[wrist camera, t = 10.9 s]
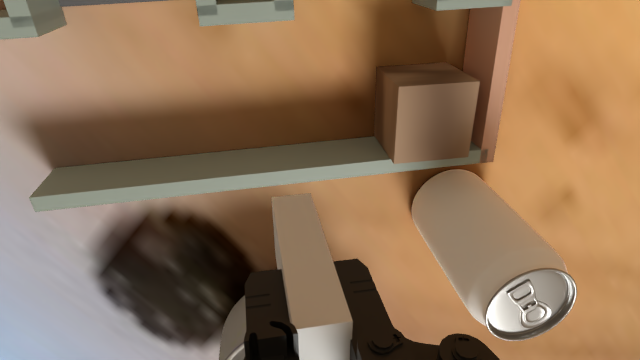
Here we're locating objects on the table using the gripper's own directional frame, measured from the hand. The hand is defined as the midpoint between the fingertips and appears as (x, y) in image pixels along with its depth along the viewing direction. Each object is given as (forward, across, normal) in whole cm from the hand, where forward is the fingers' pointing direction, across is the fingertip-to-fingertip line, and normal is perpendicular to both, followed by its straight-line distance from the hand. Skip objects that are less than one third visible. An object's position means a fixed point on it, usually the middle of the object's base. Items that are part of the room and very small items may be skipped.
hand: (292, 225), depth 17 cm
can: (+14, -14, +9) cm, 22 cm away
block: (+14, -10, 0) cm, 18 cm away
